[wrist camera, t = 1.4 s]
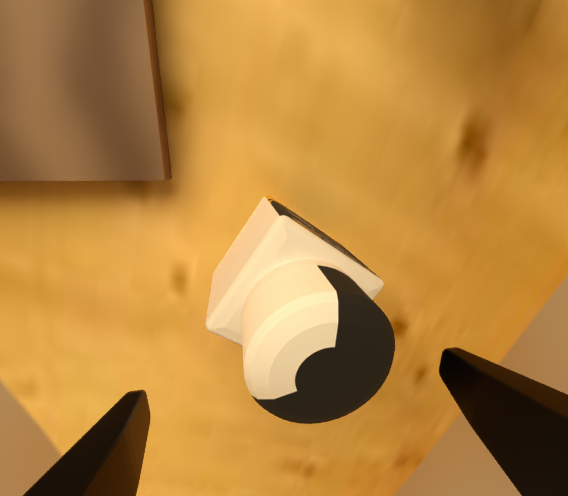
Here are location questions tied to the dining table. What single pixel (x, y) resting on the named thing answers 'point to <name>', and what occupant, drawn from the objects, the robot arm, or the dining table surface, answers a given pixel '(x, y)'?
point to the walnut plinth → (81, 92)
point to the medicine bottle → (301, 318)
